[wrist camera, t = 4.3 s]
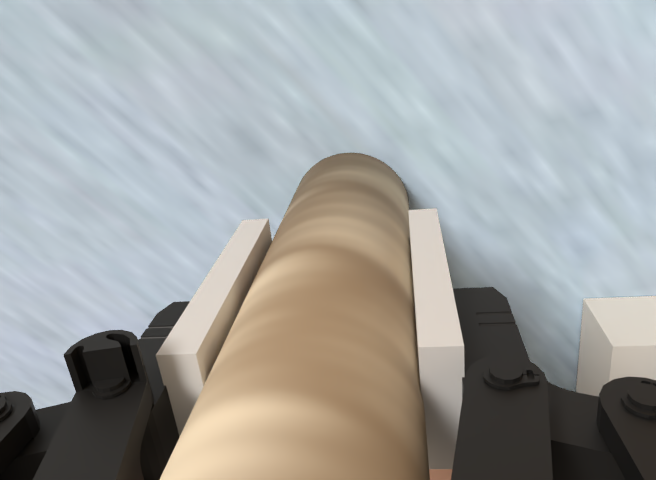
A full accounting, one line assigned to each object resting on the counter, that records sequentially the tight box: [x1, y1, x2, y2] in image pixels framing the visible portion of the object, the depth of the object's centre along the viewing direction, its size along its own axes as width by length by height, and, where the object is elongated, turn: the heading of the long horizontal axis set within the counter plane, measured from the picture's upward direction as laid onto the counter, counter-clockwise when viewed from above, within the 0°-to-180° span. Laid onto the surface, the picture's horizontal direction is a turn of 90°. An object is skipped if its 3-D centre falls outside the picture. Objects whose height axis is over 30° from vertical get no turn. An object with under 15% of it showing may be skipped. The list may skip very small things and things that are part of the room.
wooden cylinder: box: [160, 153, 430, 480], centre depth 13 cm, size 4×4×16 cm
